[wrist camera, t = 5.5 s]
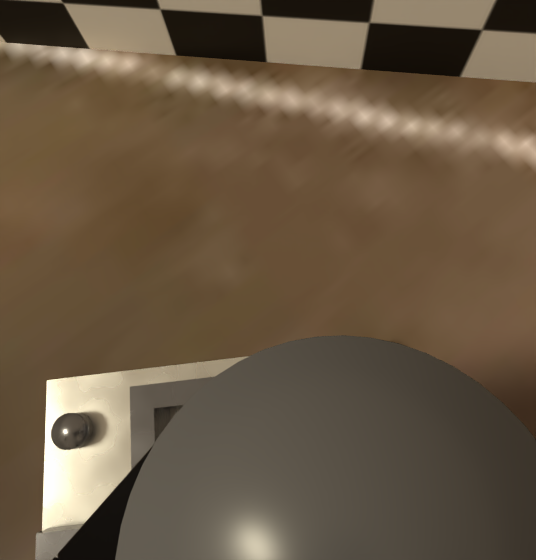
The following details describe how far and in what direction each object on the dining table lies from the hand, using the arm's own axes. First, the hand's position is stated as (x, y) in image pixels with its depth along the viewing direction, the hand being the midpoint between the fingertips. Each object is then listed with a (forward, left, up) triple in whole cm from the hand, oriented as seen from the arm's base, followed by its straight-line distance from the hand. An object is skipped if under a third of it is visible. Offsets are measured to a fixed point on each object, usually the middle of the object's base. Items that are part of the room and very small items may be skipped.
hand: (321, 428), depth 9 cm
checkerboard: (+44, -8, -14) cm, 47 cm away
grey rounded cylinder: (-1, 0, -7) cm, 7 cm away
